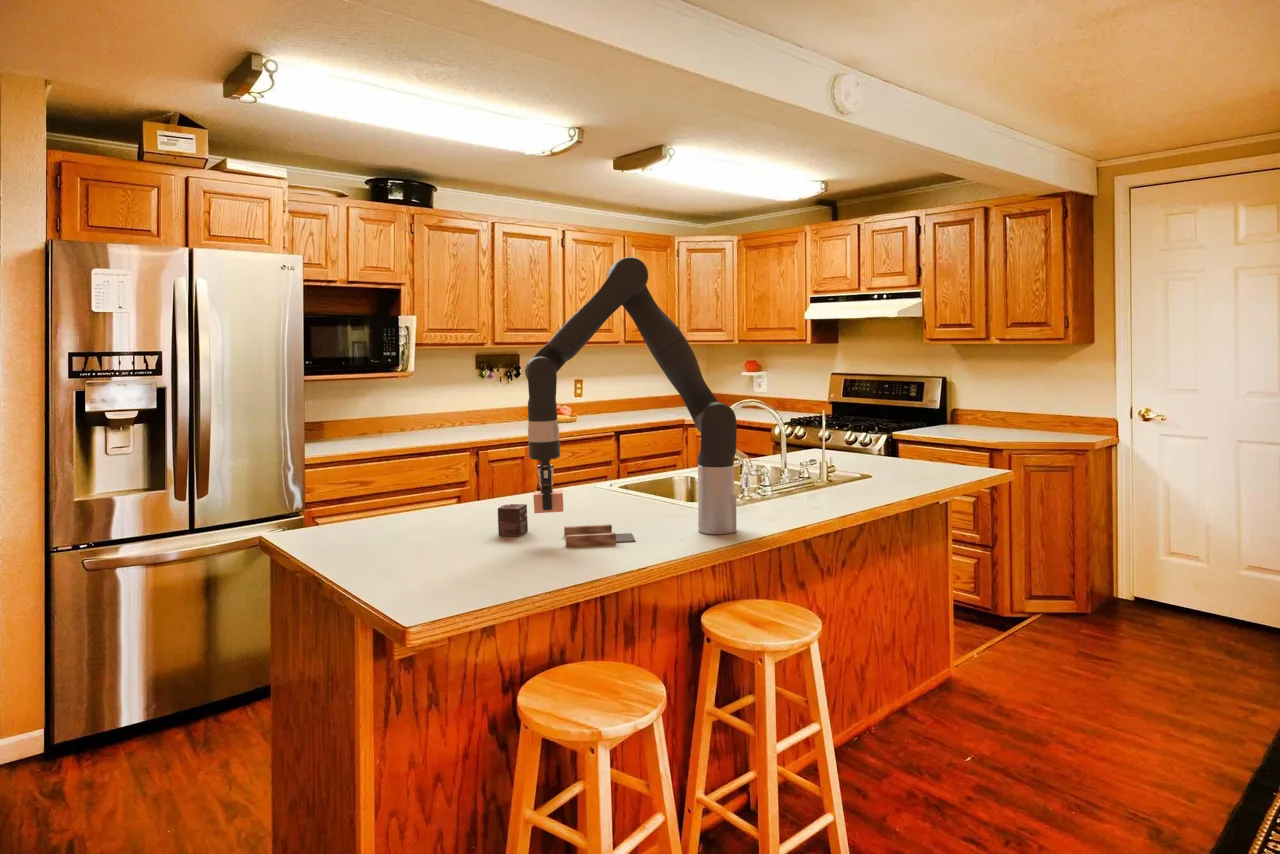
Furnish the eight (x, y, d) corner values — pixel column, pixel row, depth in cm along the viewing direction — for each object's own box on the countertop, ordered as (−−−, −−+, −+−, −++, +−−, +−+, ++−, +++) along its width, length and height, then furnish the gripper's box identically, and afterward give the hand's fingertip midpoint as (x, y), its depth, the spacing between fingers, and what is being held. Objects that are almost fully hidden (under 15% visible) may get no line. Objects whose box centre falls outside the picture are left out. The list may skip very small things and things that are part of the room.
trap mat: (631, 534, 193) (631, 533, 193) (635, 541, 186) (635, 540, 186) (611, 535, 193) (611, 534, 193) (615, 542, 185) (615, 541, 185)
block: (563, 507, 189) (562, 489, 188) (563, 511, 184) (562, 493, 183) (535, 509, 188) (534, 491, 188) (534, 513, 183) (533, 495, 183)
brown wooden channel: (611, 533, 194) (611, 524, 194) (615, 544, 183) (615, 534, 183) (564, 536, 193) (564, 526, 192) (566, 546, 182) (565, 536, 182)
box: (520, 537, 193) (519, 508, 192) (497, 536, 194) (496, 508, 193) (528, 531, 199) (527, 504, 198) (506, 531, 200) (505, 503, 199)
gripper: (560, 441, 178) (563, 512, 179) (558, 435, 192) (561, 501, 193) (528, 443, 177) (531, 514, 178) (528, 436, 191) (532, 503, 192)
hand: (547, 507), depth 186 cm, fingers closed on block, 5 cm apart
